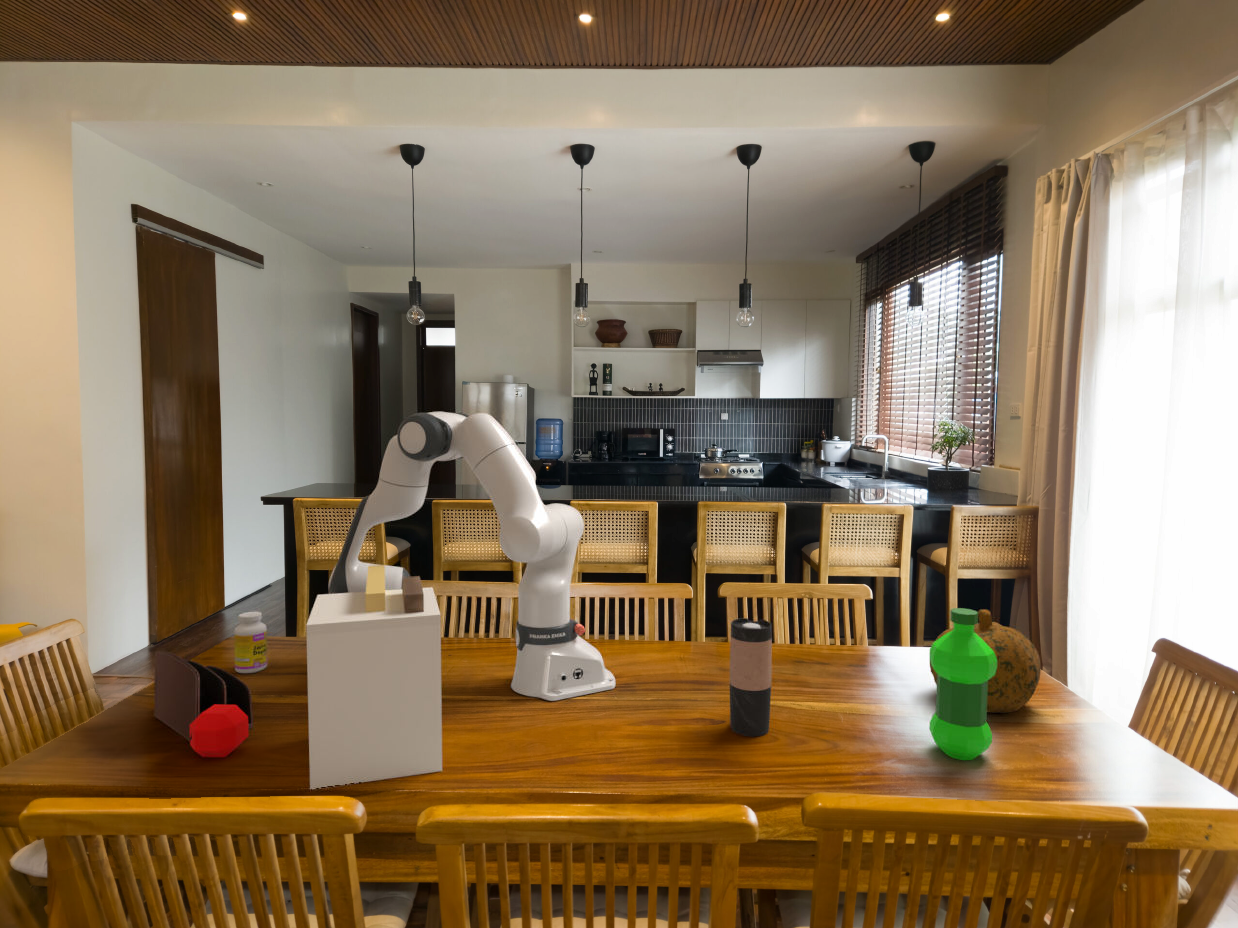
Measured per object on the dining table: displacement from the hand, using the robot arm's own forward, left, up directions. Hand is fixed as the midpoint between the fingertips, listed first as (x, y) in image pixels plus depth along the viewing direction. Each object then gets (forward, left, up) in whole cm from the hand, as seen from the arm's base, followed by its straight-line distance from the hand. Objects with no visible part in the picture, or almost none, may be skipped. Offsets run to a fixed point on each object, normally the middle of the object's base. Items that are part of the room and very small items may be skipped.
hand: (377, 594), depth 149 cm
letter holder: (+32, +4, -22) cm, 39 cm away
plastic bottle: (-96, +57, -22) cm, 114 cm away
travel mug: (-66, +37, -22) cm, 79 cm away
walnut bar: (-6, +27, +5) cm, 28 cm away
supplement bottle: (+28, -26, -22) cm, 44 cm away
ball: (+26, +18, -22) cm, 38 cm away
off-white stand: (0, +27, -22) cm, 34 cm away
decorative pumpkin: (-118, +40, -22) cm, 126 cm away
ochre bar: (0, +20, +4) cm, 20 cm away
